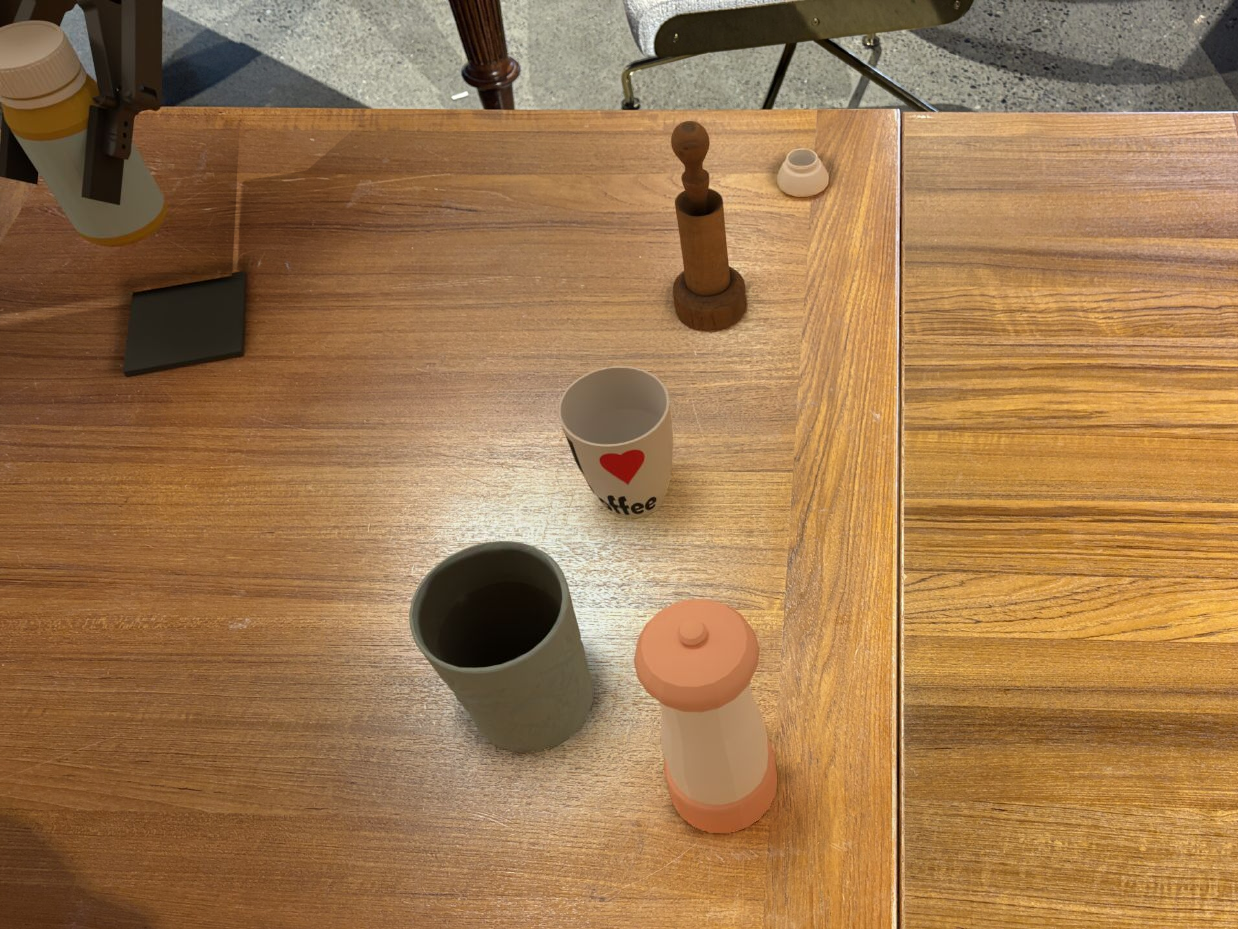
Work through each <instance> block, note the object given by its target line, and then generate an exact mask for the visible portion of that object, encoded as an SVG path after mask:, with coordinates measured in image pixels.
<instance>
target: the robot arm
mask: <svg viewBox="0 0 1238 929" xmlns="http://www.w3.org/2000/svg"><path fill="white" fill-rule="evenodd" d="M163 2H164V0H0V28H1V27H3V26H6V25H10V24H13V23H17V22H23V21H47V22H51V23H53V24H56V25H57V26H59V27H60V28H61V26H62V24H63V19H65V18H64V17H65V16H66V13H68V12H71V11H73V10H74V9H75V7H76V4H77V5H78V7H79V8H80V9H81V10H82V12H83V14H84V15H83V16H84V20H85V26H86V33H87V36H88V42H89V47H90V53H91V58H92V63H93V69H94V73H95V79H96V80H95V81H96V82H97V85H98V90H99V95H100V96H97V97H95V98H92V100H93V102H94V103H95V104H97V105H100V106H103V107H106V108H101V107H98V106H93V105H90V107H89V118H88V129H87V140H86V151H85V162H84V174H83V185H82V196H81V197H84V198H88V199H92V200H97V201H101V202H106V203H111V204H116V205H120V200H121V189H122V179H123V169H124V159H126V160H128V159H129V157H130V154H131V147H132V146H131V145H132V141H133V136H134V125H135V120H136V116H138V115H139V114H140V113H142V112H146V111H153V112H157V111H159V110H160V109H161V108H162V105H163V8H164V7H163V6H164V4H163ZM142 87H143V89H142ZM39 175H40V174H39V173H38V171H37V170H36V168H35V166H34V165H33V163H32V162H31V160H30V159H29V157H28V156H27V154H26V153H25V151H24V150H23V148H22V146H21V145H20V143H19V142H18V140H17V139H16V137H15V136H14V134H13V133H12V131H11V130H10V127H9V126H8V124H7V123H6V121H5V118H4V113H3V109H2V105H1V102H0V178H4V179H8V180H13V181H18V182H22V183H27V184H31V185H36V186H38V184H39Z"/></svg>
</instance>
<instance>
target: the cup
mask: <svg viewBox="0 0 1238 929" xmlns="http://www.w3.org/2000/svg"><path fill="white" fill-rule="evenodd" d="M671 412H672V411H671V403H670V395H669V391H668V389H667V387H666V386H665V384H664V383H663V381H662V380H661V379H660V378H659V377H657V376H656V375H654V374H653V373H651V372H650V371H647V370H646V369H642V368H638V367H634V366H629V365H628V366H627V365H613V366H606V367H601V368H596V369H594V370H591V371H589V372H587V373H585V374H583V375H581V376H579V377H578V378H577V379H576V380H574V381H573V382H571V383H570V385H568V386H567V388H566V389H565V390H564V391H563V393H562V395H561V397H560V398H559V401H558V405H557V417H558V420H559V423H560V426H561V428H562V431H563V433H564V436H565V438H566V442H567V444H568V447H569V449H570V453H571V455H572V457H573V460H574V462H575V464H576V466H577V467H578V469H579V471H580V473H581V474H582V477H583V478H584V480H585V481H586V483H587V485H588V487H589V489H590V490H591V492H592V493H593V494H594V496H595V497H596V498H597V499H598V500H599V501H600V503H601V504H602V505H603V506H604V507H605V508H606V510H608V511H609V512H610V513H611V514H612V513H613V514H612V515H614V516H616V517H618V518H622V519H627V518H628V519H630V520H633V519H632V518H635V519H640V518H644V517H648V516H649V515H651V514H653V513H655V512H656V511H657V510H658V509H659V508H660V507H661V506H662V505H663V503H664V502H665V499H666V496H667V492H668V489H669V485H670V481H671V477H672V471H673V470H672V469H673V449H674V448H673V447H674V434H673V424H672V423H673V422H672V413H671ZM652 512H653V513H652Z"/></svg>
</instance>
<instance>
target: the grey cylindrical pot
mask: <svg viewBox="0 0 1238 929" xmlns="http://www.w3.org/2000/svg"><path fill="white" fill-rule="evenodd" d="M408 622H409V630H410V632H411V636H412V639H413V641H414V644H415V646H416V647H417V648H418V649H419V651H420V652H421V654H422V655H423V657H424V658H425V659H426V660H427V661H428V663H429V664H430V666H431V667H432V669H434V671H435V673H437V675H438V676H439V677H440V678H441V680H442V681H443V682H444V683H445V684H446V685H447V686H448V688H449V689H450V691H452V692H453V693H454V695H455V699H456V700H457V701H458V702H459V703H460V704H461V706H462V707H463V709H465V710H466V711H467V713H468V714H469V716H470V717H471V720H472V722H473V724H474V726H475V728H477V730H478V731H479V733H480V734H481V735H482V736H483V737H484V738H485V740H487V741H489V742H490V743H491V744H495V745H496V746H495V745H494V746H495V747H498V748H500V749H502V750H505V749H507V751H509V752H514V751H516V752H515V753H524V752H528V753H533V752H532V751H535V752H534V753H537V752H536V751H538V750H544V749H547V750H549V749H548V748H551V747H553V746H555V747H557V746H556V745H558V744H559V745H561V744H562V743H561V742H563V741H564V742H566V741H567V740H568V738H569V737H570V736H571V735H572V736H574V735H575V734H576V733H577V732H578V731H579V730H580V729H581V728H582V726H583V725H584V724H583V723H585V722H586V721H587V719H588V717H589V715H590V713H591V710H592V707H593V706H592V705H593V703H594V697H595V696H594V694H595V688H594V682H593V678H592V674H591V672H590V669H589V664H588V659H587V654H586V651H585V646H584V643H583V641H582V634H581V631H580V627H579V623H578V619H577V616H576V612H575V609H574V603H573V599H572V596H571V593H570V588H569V584H568V581H567V579H566V576H565V574H564V572H563V570H562V568H561V566H560V565H559V563H558V562H557V561H556V560H555V559H554V558H553V557H552V556H551V555H549V554H548V553H547V552H545V551H544V550H541V549H540V548H538V547H536V546H534V545H531V544H527V543H524V542H521V541H519V542H518V541H512V540H496V541H488V542H487V541H486V542H482V543H477V544H474V545H470V546H468V547H465V548H463V549H461V550H459V551H457V552H454V553H451V555H449V556H447V557H445V558H444V559H443V560H441V561H440V562H439V563H438V564H436V565H435V566H434V567H433V568H432V569H431V570H429V572H428V573H427V574H426V575H424V577H423V579H422V580H421V581H420V582H419V584H418V586H417V588H416V589H415V592H414V594H413V596H412V598H411V603H410V607H409V612H408ZM592 702H593V703H592ZM589 712H590V713H589ZM588 714H589V715H588ZM587 716H588V717H587ZM586 718H587V719H586ZM584 721H585V722H584ZM582 724H583V725H582ZM581 725H582V726H581ZM580 727H581V728H580ZM579 728H580V729H579ZM578 729H579V730H578ZM577 730H578V731H577ZM576 731H577V732H576ZM575 732H576V733H575ZM574 733H575V734H574ZM573 734H574V735H573ZM572 736H571V737H572ZM571 737H570V738H571ZM570 738H569V739H570ZM566 739H567V740H566ZM565 740H566V741H565ZM564 742H563V743H564ZM560 743H561V744H560ZM559 745H558V746H559ZM553 748H554V747H553ZM551 749H552V748H551ZM544 751H545V750H544ZM538 752H539V751H538Z"/></svg>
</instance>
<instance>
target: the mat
mask: <svg viewBox="0 0 1238 929" xmlns="http://www.w3.org/2000/svg"><path fill="white" fill-rule="evenodd" d="M247 296H248V273H247V272H246V271H245V270H241V271H234V272H231V275H227V276H222V277H215V278H210V279H203V280H197V281H192V282H186V283H185V282H184V283H180V284H174V285H168V286H162V287H157V288H151V289H145V290H138V291H133V292H132V295H131V304H130V305H131V306H130V311H129V319H128V320H129V321H128V328H127V336H126V343H125V352H124V360H123V362H124V363H123V368H122V372H123V374H124V376H125V377H133V376H138V375H144V374H150V373H154V372H160V371H166V370H172V369H178V368H183V367H189V366H195V365H199V364H206V363H211V362H217V361H223V360H227V359H234V358H238V357H244V356H245V342H246V340H245V338H246V319H247V316H246V315H247Z"/></svg>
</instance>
